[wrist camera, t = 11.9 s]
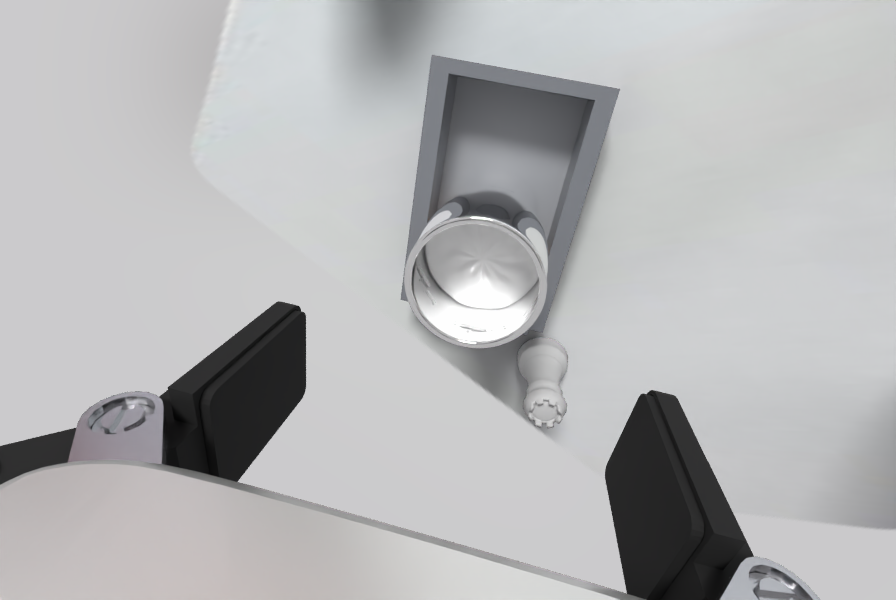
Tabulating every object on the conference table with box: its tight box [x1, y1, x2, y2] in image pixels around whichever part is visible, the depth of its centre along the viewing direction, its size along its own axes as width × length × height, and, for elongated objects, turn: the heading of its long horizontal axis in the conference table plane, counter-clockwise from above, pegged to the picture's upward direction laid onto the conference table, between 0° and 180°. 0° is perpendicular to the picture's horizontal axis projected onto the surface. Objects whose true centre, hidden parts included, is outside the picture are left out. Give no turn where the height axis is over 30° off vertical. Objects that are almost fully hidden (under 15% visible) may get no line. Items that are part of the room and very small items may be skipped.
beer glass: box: [404, 170, 549, 348], centre depth 25 cm, size 7×7×15 cm
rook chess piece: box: [517, 337, 568, 428], centre depth 34 cm, size 4×4×8 cm
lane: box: [401, 55, 620, 335], centre depth 30 cm, size 11×17×5 cm
